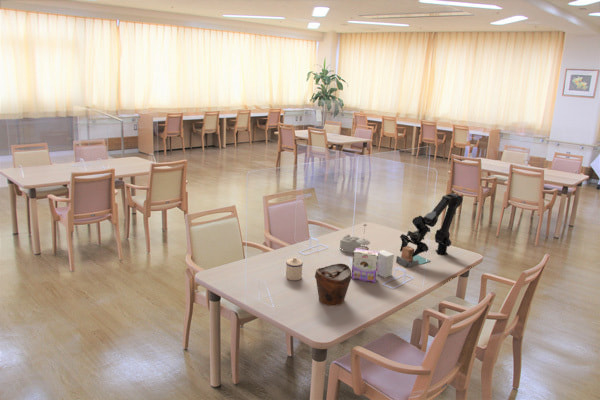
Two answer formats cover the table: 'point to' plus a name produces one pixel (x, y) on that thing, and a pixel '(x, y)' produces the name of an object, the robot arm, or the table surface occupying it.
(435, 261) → the table surface
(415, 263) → the charcoal u-shaped frame
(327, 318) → the table surface
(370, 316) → the table surface
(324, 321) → the table surface
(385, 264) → the small box
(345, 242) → the lumpy-topped squat cylinder
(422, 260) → the teal mat
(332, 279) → the brown tapered cylinder
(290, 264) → the teacup with lid
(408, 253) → the terracotta block
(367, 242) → the french press
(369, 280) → the candy box
